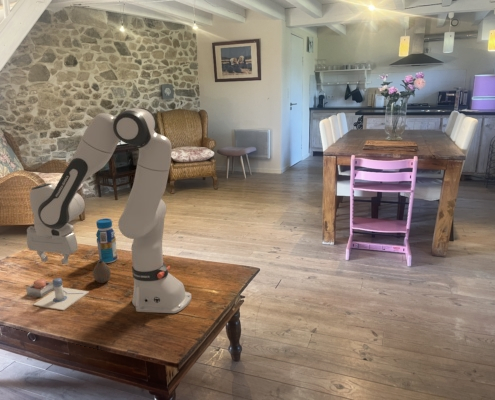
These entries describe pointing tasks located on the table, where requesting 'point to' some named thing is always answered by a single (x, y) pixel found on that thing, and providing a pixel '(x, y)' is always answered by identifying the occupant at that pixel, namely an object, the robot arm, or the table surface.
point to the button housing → (40, 290)
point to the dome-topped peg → (58, 289)
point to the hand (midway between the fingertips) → (55, 262)
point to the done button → (39, 283)
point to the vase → (101, 272)
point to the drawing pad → (69, 299)
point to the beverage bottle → (106, 241)
